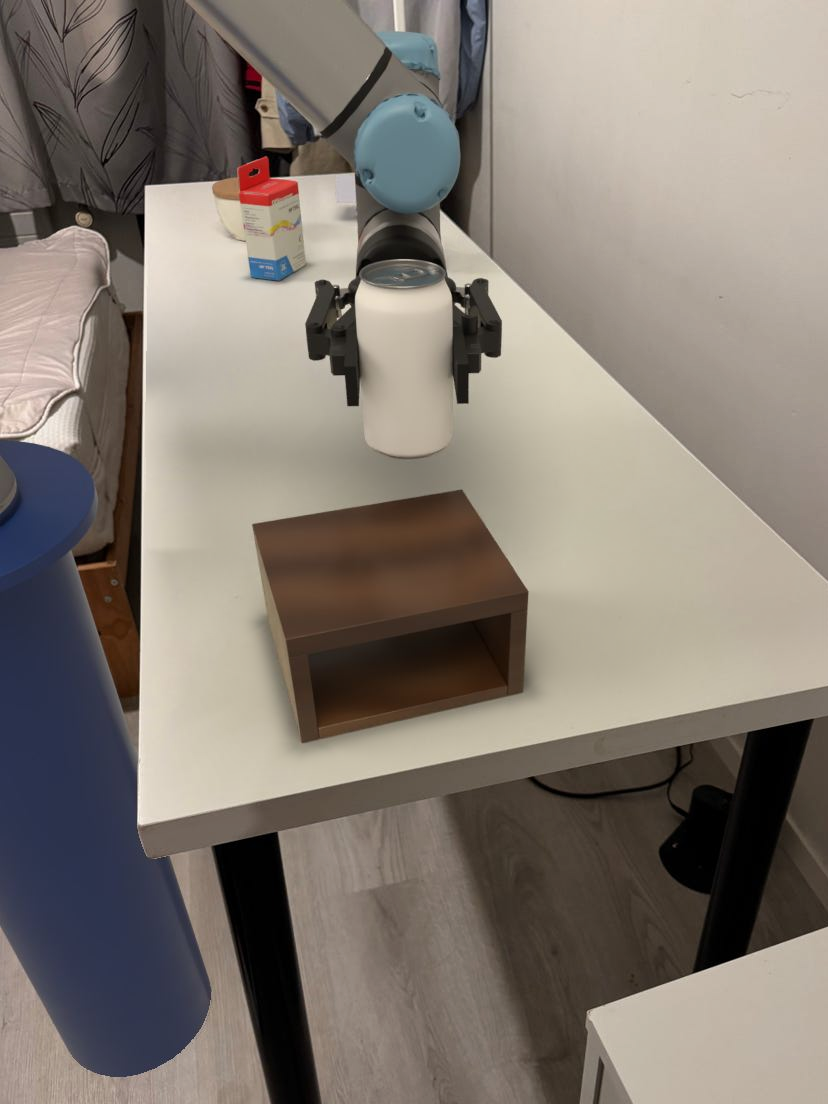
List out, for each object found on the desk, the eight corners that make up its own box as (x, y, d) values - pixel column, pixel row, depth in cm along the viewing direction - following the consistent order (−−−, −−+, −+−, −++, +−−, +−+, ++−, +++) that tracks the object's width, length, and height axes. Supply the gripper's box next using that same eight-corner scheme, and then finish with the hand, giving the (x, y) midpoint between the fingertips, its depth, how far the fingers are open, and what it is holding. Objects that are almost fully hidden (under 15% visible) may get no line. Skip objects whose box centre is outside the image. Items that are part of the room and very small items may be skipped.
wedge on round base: (337, 224, 157) (413, 224, 157) (333, 181, 153) (412, 181, 153) (341, 209, 164) (414, 209, 164) (338, 168, 160) (413, 168, 160)
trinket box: (281, 224, 157) (274, 163, 151) (291, 242, 149) (284, 179, 143) (216, 229, 154) (206, 167, 148) (223, 248, 146) (213, 183, 140)
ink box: (279, 282, 134) (265, 171, 125) (249, 278, 135) (233, 167, 126) (307, 264, 140) (296, 157, 131) (278, 261, 141) (265, 154, 132)
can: (346, 438, 68) (332, 270, 60) (414, 412, 71) (408, 250, 64) (403, 471, 64) (395, 296, 57) (471, 441, 68) (473, 274, 60)
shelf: (268, 621, 73) (251, 523, 67) (462, 584, 77) (462, 488, 71) (301, 743, 62) (285, 640, 57) (523, 692, 66) (528, 591, 61)
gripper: (514, 313, 81) (552, 434, 63) (289, 316, 79) (262, 442, 61) (518, 221, 76) (560, 325, 58) (278, 223, 74) (246, 330, 57)
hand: (407, 385), depth 60 cm, fingers closed on can, 6 cm apart
